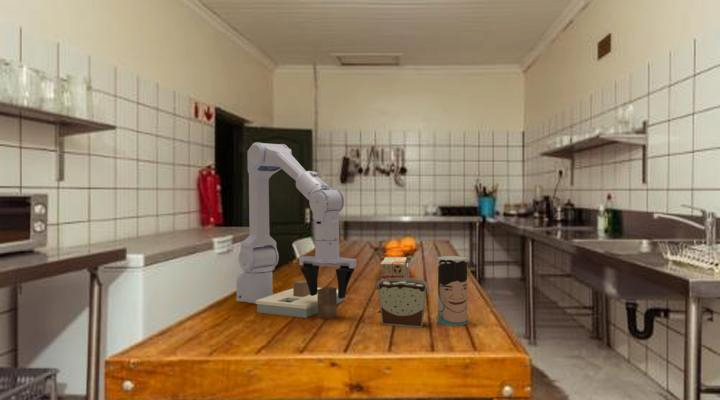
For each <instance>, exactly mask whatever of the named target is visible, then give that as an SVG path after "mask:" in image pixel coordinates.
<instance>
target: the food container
mask: <svg viewBox="0 0 720 400" xmlns="http://www.w3.org/2000/svg"><path fill="white" fill-rule="evenodd" d="M375 290H376V291H377V290H378V298H379V307H380V315H381V316H380V317H381V324H382V325H386V326H387V325H388V326H395V327H396V326H397V327H410V328H412V327H413V328H424V327H423V325H424V316H425V304H426V295H427V293H428V294H429V286H428V284H427V281H425V280H423V279H417V278H412V277H411V278H410V277H409V278H390V279H383V280H377V283H376V287H375Z"/></svg>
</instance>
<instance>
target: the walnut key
mask: <svg viewBox="0 0 720 400" xmlns="http://www.w3.org/2000/svg"><path fill="white" fill-rule="evenodd" d="M320 288H321V289H318V290H317V297H318V313H317V319H322V320H323V319H325V320H330V319H332V318H334V317H336V316H337V315H338V309H337V307H338V306H337V305H338V304H337V289H338V287H331V286H324V287H320Z"/></svg>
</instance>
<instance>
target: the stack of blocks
mask: <svg viewBox="0 0 720 400" xmlns="http://www.w3.org/2000/svg"><path fill="white" fill-rule="evenodd" d="M407 258H408V257H405V256H385V257H384V258H383V260H382V261H381V262H380V267H379V269H380V274H379V275H380V278H379V279H380V280H383V279H390V278H410V273H409V272H410V268H409V264H410V263H408V261H407Z"/></svg>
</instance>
